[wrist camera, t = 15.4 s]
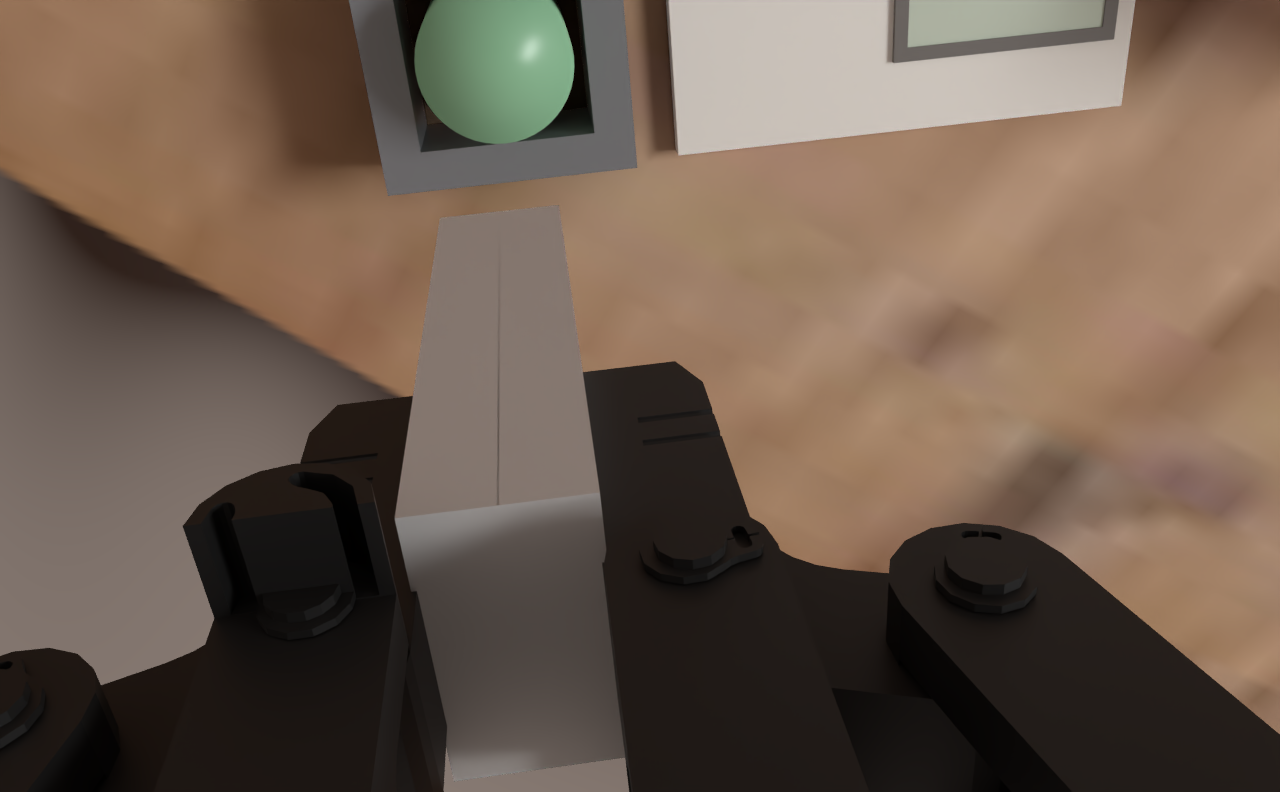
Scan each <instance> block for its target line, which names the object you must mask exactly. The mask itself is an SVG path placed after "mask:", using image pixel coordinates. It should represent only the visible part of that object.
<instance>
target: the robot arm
mask: <svg viewBox="0 0 1280 792" xmlns="http://www.w3.org/2000/svg"><path fill="white" fill-rule="evenodd" d="M183 528H184V531H185V534H186V537H187V540H188V542H189V546H190V548H191V551H192V554H193V557H194V560H195V563H196V566H197V568H198V572H199V575H200V578H201V580H202V583H203V586H204V589H205V592H206V595H207V598H208V601H209V603H210V607H211V609H212V612H213V615H214V621H213V624H212V627H211V630H210V633H209V636H208V638H207V641H206V644H205V645H204V646H202V647H200V648H199V649H197V650H196V651H193V652H191V653H189V654H186V655H184V656H182V657H179V658H177V659H174V660H172V661H170V662H167V663H165V664H162V665H159V666H156V667H153V668H151V669H147V670H145V671H142V672H139V673H136V674H133V675H130V676H127V677H124V678H122V679H119V680H116V681H113V682H110V683H107V684H104V685H100V682H99V680H98V678H97V675H96V673H95V671H94V669H93V668H92V667H91V666H90V665H89V664H88V663H87V662H86V661H85V660H83V659H82V658H81V657H80V656H79V655H78V654H75V653H71V652H66V651H61V650H56V649H52V648H45V649H34V650H25V651H15V652H11V653H8V654H5V655H2V656H0V792H444V791H443V787H444V771H445V770H444V769H445V754H446V748H447V752H448V756H449V761H450V765H451V770H452V774H453V779H454V781H461V780H468V779H475V778H482V777H490V776H496V775H503V774H511V773H518V772H525V771H531V770H539V769H546V768H553V767H560V766H567V765H574V764H582V763H589V762H596V761H603V760H610V759H617V758H624V757H625V759H626V767H627V776H628V785H629V792H1280V734H1278V733H1277V732H1276V731H1275V730H1274V729H1272V728H1271V727H1270V726H1269V725H1268V724H1266V723H1265V722H1264V721H1263V720H1262V719H1260V718H1259V717H1258V716H1257V715H1256V714H1254V713H1253V712H1252V711H1251V710H1250V709H1248V708H1247V707H1246V706H1245V705H1244V704H1242V703H1241V702H1240V701H1239V700H1238V699H1236V698H1235V697H1234V696H1233V695H1232V694H1230V693H1229V692H1228V691H1227V690H1226V689H1224V688H1223V687H1222V686H1221V685H1220V684H1218V683H1217V682H1216V681H1215V680H1214V679H1212V678H1211V677H1210V676H1209V675H1208V674H1206V673H1205V672H1204V671H1203V670H1202V669H1200V668H1199V667H1198V666H1197V665H1196V664H1194V663H1193V662H1192V661H1191V660H1190V659H1188V658H1187V657H1186V656H1185V655H1183V654H1182V653H1181V652H1180V651H1179V650H1177V649H1176V648H1175V647H1174V646H1173V645H1171V644H1170V643H1169V642H1168V641H1167V640H1165V639H1164V638H1163V637H1162V636H1161V635H1159V634H1158V633H1157V632H1156V631H1155V630H1153V629H1152V628H1151V627H1150V626H1149V625H1147V624H1146V623H1145V622H1144V621H1143V620H1141V619H1140V618H1139V617H1138V616H1137V615H1135V614H1134V613H1133V612H1132V611H1131V610H1129V609H1128V608H1127V607H1126V606H1125V605H1123V604H1122V603H1121V602H1120V601H1119V600H1117V599H1116V598H1115V597H1114V596H1113V595H1111V594H1110V593H1109V592H1108V591H1107V590H1105V589H1104V588H1103V587H1102V586H1101V585H1099V584H1098V583H1097V582H1096V581H1095V580H1093V579H1092V578H1091V577H1090V576H1089V575H1087V574H1086V573H1085V572H1084V571H1083V570H1081V569H1080V568H1079V567H1078V566H1077V565H1075V564H1074V563H1073V562H1072V561H1071V560H1069V559H1068V558H1067V557H1066V556H1065V555H1063V554H1062V553H1060V552H1059V551H1057V550H1055V549H1054V548H1052V547H1051V546H1049V545H1047V544H1046V543H1044V542H1042V541H1041V540H1039V539H1037V538H1036V537H1034V536H1031V535H1028V534H1024V533H1021V532H1018V531H1014V530H1011V529H1008V528H1005V527H1001V526H994V525H981V524H968V523H961V524H955V525H948V526H942V527H936V528H930V529H928V530H926V531H924V532H922V533H920V534H918V535H916V536H914V537H912V538H910V539H908V540H906V541H904V543H903V544H902V545H901V546H900V548H899V549H898V550H897V551H896V553H895V554H894V555H893V556H892V558H891V559H890V568H889V573H878V572H866V571H855V570H843V569H837V568H831V567H825V566H819V565H814V564H812V563H809V562H806V561H803V560H800V559H797V558H794V557H791V556H790V555H788V554H786V553H784V552H782V551H781V550H780V549H779V546H778V543H777V542H776V541H775V539H774V538H773V537H772V535H771V534H770V533H769V531H768V530H767V528H766V527H765V526H764V525H763V524H761V523H759V522H758V521H756V520H754V519H752V518H751V517H750V516H749V513H748V510H747V507H746V504H745V502H744V499H743V496H742V493H741V490H740V487H739V484H738V482H737V479H736V476H735V473H734V470H733V467H732V464H731V462H730V459H729V456H728V453H727V450H726V447H725V444H724V442H723V439H722V436H720V430H719V427H718V424H717V422H716V419H715V416H714V414H713V413H712V407H711V404H710V401H709V399H708V396H707V393H706V390H705V387H704V384H703V382H702V381H701V380H699V379H698V378H697V377H695V376H694V375H693V374H691V373H690V372H689V371H687V370H686V369H685V368H683V367H682V366H681V365H679V364H678V363H677V362H675V361H674V362H666V363H657V364H649V365H641V366H632V367H624V368H615V369H607V370H598V371H590V372H583V371H582V364H581V357H580V350H579V343H578V336H577V329H576V322H575V315H574V308H573V301H572V294H571V287H570V280H569V273H568V266H567V259H566V252H565V245H564V238H563V231H562V224H561V217H560V210H559V205H555V206H545V207H536V208H527V209H518V210H509V211H499V212H490V213H481V214H472V215H463V216H453V217H444V218H440V222H439V228H438V235H437V241H436V248H435V255H434V261H433V268H432V274H431V281H430V288H429V294H428V301H427V307H426V314H425V321H424V327H423V334H422V340H421V347H420V354H419V360H418V367H417V374H416V380H415V387H414V393H413V396H409V397H401V398H393V399H384V400H376V401H367V402H360V403H350V404H342V405H337V406H336V407H335V408H334V409H333V410H332V411H331V412H330V413H329V414H328V415H327V416H326V417H325V418H324V419H323V420H322V421H321V422H320V423H319V424H318V425H317V426H316V427H315V428H314V429H313V430H312V431H311V432H310V433H309V436H308V439H307V443H306V446H305V449H304V452H303V456H302V459H301V464H291V465H287V466H282V467H278V468H273V469H269V470H265V471H260V472H257V473H255V474H253V475H250V476H248V477H245V478H243V479H241V480H238V481H236V482H234V483H231V484H229V485H227V486H225V487H224V488H222V489H221V490H219V491H218V492H216V493H215V494H214V495H212V496H211V497H210V498H208V499H206V500H205V501H204V502H202V503H201V504H199V506H198V507H197V508H196V510H195V511H194V512H193V514H192V515H191V516H190V517H189V519H188V520H187V522H186V523H185V524H184V525H183Z"/></svg>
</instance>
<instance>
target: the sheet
mask: <svg viewBox="0 0 1280 792" xmlns="http://www.w3.org/2000/svg"><path fill="white" fill-rule="evenodd" d="M1134 7H1135V0H666V8H667V24H668V39H669V54H670V69H671V85H672V100H673V115H674V131H675V146H676V151H677V153H678V155H687V154H696V153H705V152H714V151H723V150H732V149H741V148H749V147H758V146H767V145H776V144H785V143H794V142H803V141H812V140H821V139H830V138H838V137H847V136H856V135H865V134H874V133H883V132H892V131H901V130H910V129H918V128H927V127H936V126H945V125H954V124H963V123H972V122H981V121H990V120H999V119H1007V118H1016V117H1025V116H1034V115H1043V114H1052V113H1061V112H1070V111H1079V110H1088V109H1096V108H1105V107H1114V106H1121V103H1122V96H1123V88H1124V81H1125V73H1126V66H1127V59H1128V51H1129V44H1130V36H1131V29H1132V21H1133V14H1134Z"/></svg>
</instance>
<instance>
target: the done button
mask: <svg viewBox="0 0 1280 792" xmlns="http://www.w3.org/2000/svg"><path fill="white" fill-rule="evenodd" d="M414 64H415V73H416V77H417V82H418V85H419V88H420V90H421V93H422V95H423V97H424V99H425V101H426V103H427V104H428V106H429V107H430V109H431V110H432V111H433V113H434V114H435V115H436V116H437V117H438V118H439V119H440V120H441V121H442V122H443V123H444V124H445V125H446V126H448V127H449V128H450V129H452V130H453V131H455V132H456V133H458V134H460V135H462V136H464V137H466V138H469V139H472V140H475V141H479V142H483V143H491V144H505V143H512V142H517V141H520V140H523V139H526V138H528V137H530V136H533V135H535V134H536V133H538V132H539V131H541V130H542V129H544V128H545V127H546V126H547V125H549V124H550V123H551V122H552V121H553V120H554V118H555V117H556V116H557V115H558V114H559V112H560V111H561V109H562V108H563V106H564V104H565V102H566V100H567V99H568V96H569V93H570V90H571V87H572V83H573V78H574V54H573V49H572V44H571V41H570V38H569V35H568V31H567V28H566V25H565V21H564V18H563V15H562V12H561V9H560V7H559V5H558V2H557V1H556V0H431V2H430V4H429V6H428V9H427V12H426V14H425V17H424V20H423V22H422V25H421V28H420V31H419V34H418V37H417V41H416V46H415V58H414Z"/></svg>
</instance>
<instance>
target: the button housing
mask: <svg viewBox="0 0 1280 792" xmlns="http://www.w3.org/2000/svg"><path fill="white" fill-rule="evenodd" d="M349 4H350V9H351V14H352V19H353V24H354V29H355V34H356V39H357V44H358V49H359V54H360V59H361V64H362V69H363V74H364V78H365V83H366V88H367V93H368V98H369V103H370V108H371V113H372V118H373V123H374V128H375V133H376V138H377V143H378V148H379V153H380V158H381V163H382V168H383V173H384V178H385V183H386V188H387V193H388V196H390V195H399V194H408V193H417V192H426V191H435V190H444V189H452V188H461V187H470V186H479V185H488V184H497V183H506V182H514V181H523V180H532V179H541V178H550V177H559V176H568V175H576V174H585V173H594V172H603V171H612V170H621V169H630V168H637V159H636V147H635V135H634V123H633V112H632V100H631V88H630V76H629V64H628V52H627V40H626V28H625V16H624V4H623V0H576V6H577V16H578V26H579V35H580V45H581V55H582V64H583V74H584V84H585V93H586V103H587V107H586V108H577V109H568V110H561V111H560V112H559V114H558V115H557V116H556V117H555V118H554V120H553V121H552V122H551V123H550V124H549V125H547V126H546V127H545V128H544V129H542V130H541V131H539V132H538V133H536V134H535V135H533V136H530V137H528V138H526V139H523V140H520V141H517V142H512V143H505V144H491V143H483V142H479V141H475V140H472V139H469V138H466V137H464V136H462V135H460V134H458V133H456V132H455V131H453V130H452V129H450V128H449V127H448V126H446V125H445V124H444V123H440V124H431V125H427V121H426V116H425V110H424V104H423V99H422V93H421V90H420V88H419V85H418V82H417V77H416V73H415V64H414V58H415V53H414V48H413V42H412V36H411V31H410V25H409V19H408V14H407V8H406V2H405V0H349Z"/></svg>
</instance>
